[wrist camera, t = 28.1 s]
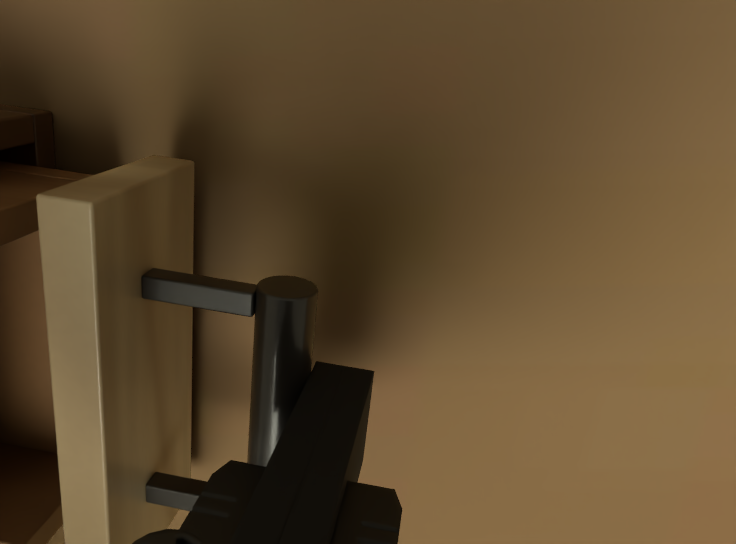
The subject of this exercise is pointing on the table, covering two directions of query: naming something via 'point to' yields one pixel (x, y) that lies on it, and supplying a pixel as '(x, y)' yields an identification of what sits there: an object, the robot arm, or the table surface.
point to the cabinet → (26, 136)
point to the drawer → (119, 350)
